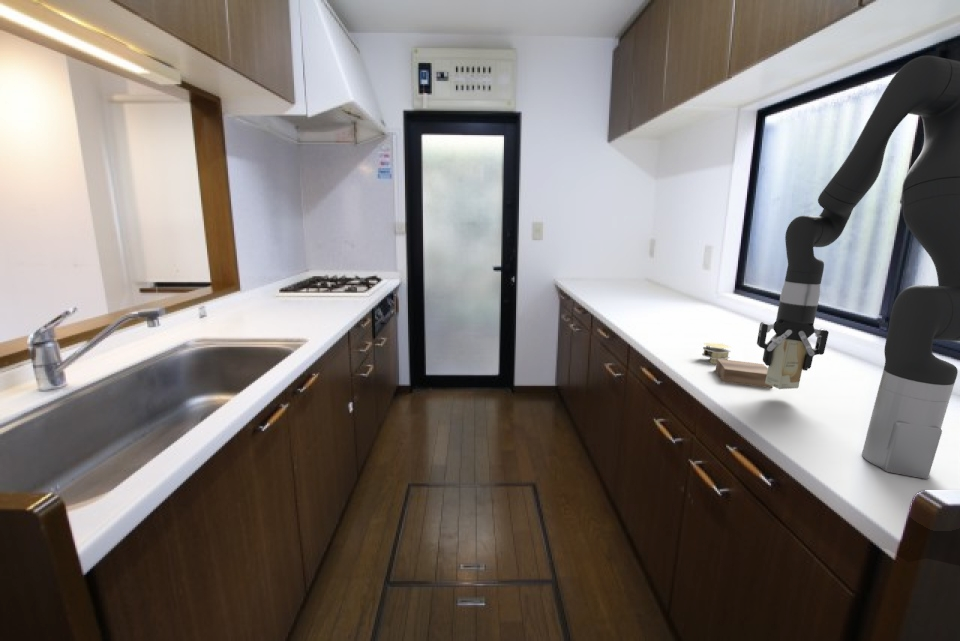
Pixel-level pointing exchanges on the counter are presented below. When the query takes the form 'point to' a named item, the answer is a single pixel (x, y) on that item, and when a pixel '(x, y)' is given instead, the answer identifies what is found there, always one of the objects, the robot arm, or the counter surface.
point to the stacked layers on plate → (716, 352)
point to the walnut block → (742, 372)
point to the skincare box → (786, 364)
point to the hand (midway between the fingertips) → (785, 367)
